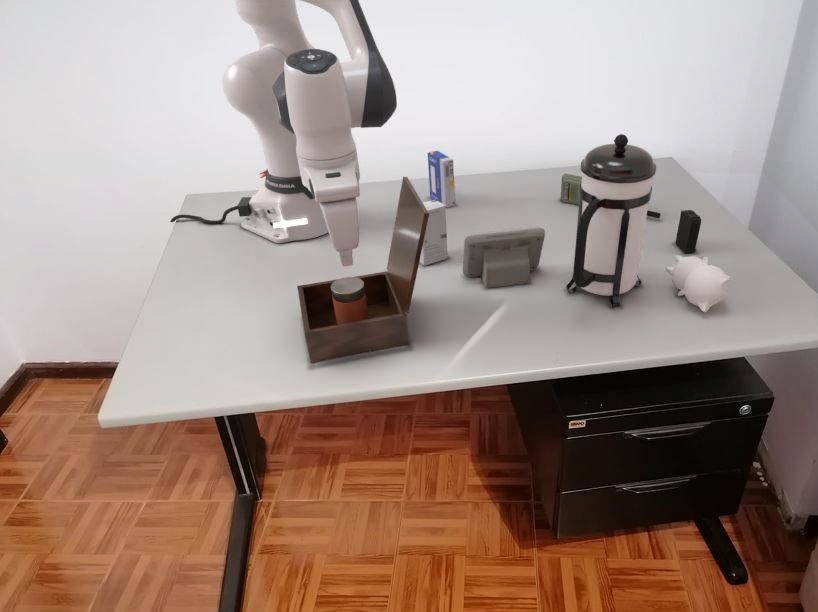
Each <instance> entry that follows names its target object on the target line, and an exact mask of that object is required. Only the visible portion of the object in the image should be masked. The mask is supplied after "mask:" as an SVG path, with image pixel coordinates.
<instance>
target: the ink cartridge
mask: <svg viewBox="0 0 818 612" xmlns="http://www.w3.org/2000/svg"><path fill="white" fill-rule="evenodd" d="M701 225H702V218H701V216H700V215H699V214H697V213H696V212H695V211H694V210H692V209H686V210H684V209H683V210H680V216H679V221H678V226H677V232H676V237H675V245H676V247H677V248H678V249H680V251H681V252H683V253H684V254H692V253H695V252H696V250H697V249H696V248H697V243H698V239H699V234H700V230H701Z"/></svg>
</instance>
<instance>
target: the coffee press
mask: <svg viewBox="0 0 818 612" xmlns="http://www.w3.org/2000/svg"><path fill="white" fill-rule="evenodd" d="M613 142H614V143H608V144H602V145H598V146H596V147H594V148H592V149H591V150H589V151H588V152H587V153H586V154H585V157H584V158H583V159H582V160H581V161H580V171H581V177H582V181H581V183H580V191H579V195H580V202H579V205H578V213H577V225H576V234H575V235H576V236H575V248H574V258H573V268H572V269H573V270H572V277H571V279H570V281H569V282H568V283H567V284H566V286H565V289H566V291H567V292H568V294H574V293H576V292H577V291H578V290H579V289H582V290H584V291H585V292H587V293H590V294H593V295H597V296H605V297H606V296H607V297H608V298H609V302H610V307H611V308H618V307H619V308H620V307H621V296H620V295H622V294H625V293H627V292H629V291H630V290H631V289H633V288H634V287H635V288H638V287H640V286H641V285H642V279H640V277H639V274H638V273H639V268H640V262H641V255H642V248H643V241H644V235H645V229H646V222H647V217H648V216H647V210H648V209H649V204H650V203H649V202H650V201H651V199H652V192H653V186H652V184H653V177H654V176H655V175H656V173H657V165H656V162H654V157H653V156H652V155H651V154H650V153H649V152H648V151H647V150H645V149H644V148H642V147H639V146H637V145H633V144H628V143H629V139H628V136H627V135H625V134H623V133H622V134H621V133H620V134H618V135H617V136H615V137H614V140H613ZM648 211H649V210H648ZM574 284H575V285H574ZM572 286H573V287H572Z"/></svg>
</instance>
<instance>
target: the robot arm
mask: <svg viewBox="0 0 818 612" xmlns="http://www.w3.org/2000/svg"><path fill="white" fill-rule="evenodd" d="M234 1H235V8H236V12H237V14H238V15H239V18H240V19H241V20H242V21H243V22H244V23H246V24H248V25H250V27H251V28H252V30H253V31H254V34H255V36H256V38H257V41H258V45H259V49H258V50H256V51H253V52H250V53H247V54H243V55H242V56H240V57H239V58H237V59H236V60H234V61H233V62H231V64H229V65H228V66H227V67H226V68H225V70H224V71H223V73H222V78H221V86H222V90H223V94H224V96H225V98H226V100H227V102H228V103H229V104H230V105H231V107H232V108H233V109H234V110H236V111H237V112H239V113H241V114H242V115H244V116H245V117H246V118H247V119H248V121H250V122H251V124H252V126H253V127H254V129H255V131H256V133H257V135H258V138H259V140H260V144H261V148H262V152H263V155H264V159H265V165H266V170H264V171H262V172H259V175H261V176H260V179H263V178H265V180H264V185H263V186H262V187H261V188H260V189H259V190H258V191H257V192H256V193H255V194H254V195H253V196H243V197H241V198H240V200H239V202H238V204H237V205H235V206H232V207H230V208H228V209H225V210H224V212H223V214H222V217H221V218H220V219H218V220H210V219H205V218H203V217H201V216H200V215H199V216H198V215H192V214H178V215H175V216H173V217H172V218H171V219H170V220H169V222H170V223H175V222H176V221H177V220H179V219H191V220H197V221H200V222H201V223H203V224H207V225H208V224H209V225H218V224H222V223H225V221H226V220H227V216H228V214H230V213H231V212H235V211H238V215H239V217H240V218H243V217H244V218H243V220H242V221H241V223H240V224H241V228H242V229H245V230H247V231H249V232H251V233H253V234H256V235H257V236H260V237H262V238H264V239H267V240H269V241H271V242H273V243H275V244H284V243H289V242H293V241H303V240H311V239H315V238H318V237H321V236H323V235H325V234H327V233H328V235H329V238H330V241H331V245H332V247H333V249H334V251H336V252H339V253H338V254H339V258H340V263H341V266H342V267H349V266H353V265H354V258H353V250H355V249H358V248H359V243H360V229H359V228H360V227H359V213H358V202H357V198H359V197H360V196H361V193H360V192H361V191H360V179H361V172H360V165H359V157H358V150H357V143H356V141H355V139H354V136H353V133H352V129H355V128H361V129H365V128H367V129H368V128H369V129H370V128H382V127H383V126H384V125H385V124H387V122H388V121H389V120H390V119H391V118H392V116H393V115H394V113H395V112H396V110H397V108H398V107H397V106H398V102H397V100H398V99H397V97H398V96H397V89H396V84H395V82H394V79H393V77H392V74H391V72H390V70H389V68H388V65H387V64H386V62H385V61H384V60H385V59H384V58H383V56H382V55H381V52H380V51H379V48H378V45H377V43H376V41H375V38H374V36H373V33H372V31H371V28H370V26H369V23H368V21H367V18H366V16H365V13H364V11H363V8H362V6H361V3H360V1H359V0H299V1H300V2H304V3H307V4H310V5H313V6H315V7H318V8H320V9H321V10H323V11H325V12H327V13H328V14H330V15H331V16H332V18H333V19H334V21H335V22H336V24H337V27H338V29H339V31H340V33H341V36H342V39H343V41H344V43H345V46H346V48H347V51H348V53H349V56H350V59H351V60H349V61H344V62H343V61H342V62H340V59H339V57H338V56H337V55H336V54H335V53H333V52H331V51H329V50H326V49H320V48H316V47H315V46H313V45H312V44H311V43H310V42H309V40H308V38H307V36H306V34H305V32H304V30H303V28H302V25H301V21H300V18H299V14H298V10H297V5H296V4H297V3H296V0H234Z"/></svg>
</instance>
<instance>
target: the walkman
mask: <svg viewBox="0 0 818 612" xmlns="http://www.w3.org/2000/svg"><path fill="white" fill-rule="evenodd" d="M427 166H428V167H427V169H428V182H429V197H430V199H432V200H437V201H439V202H440V203H442V204H444V205H445V206H446V208H450V207H455V206H456V192H455V191H456V190H455V189H456V187H455V173H454V171H455V170H454V159H453V158H452V157H450V156H448V155H446V154H445V153H443V152H441V151H439V150H434V151H433V150H432V151H429V152H427Z"/></svg>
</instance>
